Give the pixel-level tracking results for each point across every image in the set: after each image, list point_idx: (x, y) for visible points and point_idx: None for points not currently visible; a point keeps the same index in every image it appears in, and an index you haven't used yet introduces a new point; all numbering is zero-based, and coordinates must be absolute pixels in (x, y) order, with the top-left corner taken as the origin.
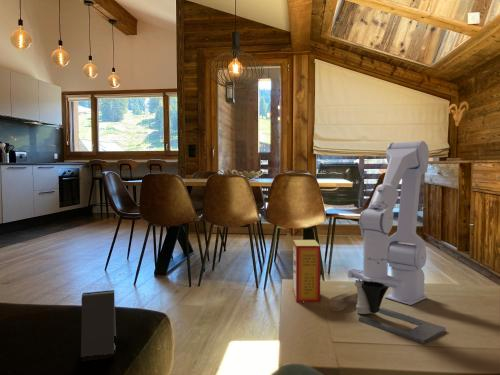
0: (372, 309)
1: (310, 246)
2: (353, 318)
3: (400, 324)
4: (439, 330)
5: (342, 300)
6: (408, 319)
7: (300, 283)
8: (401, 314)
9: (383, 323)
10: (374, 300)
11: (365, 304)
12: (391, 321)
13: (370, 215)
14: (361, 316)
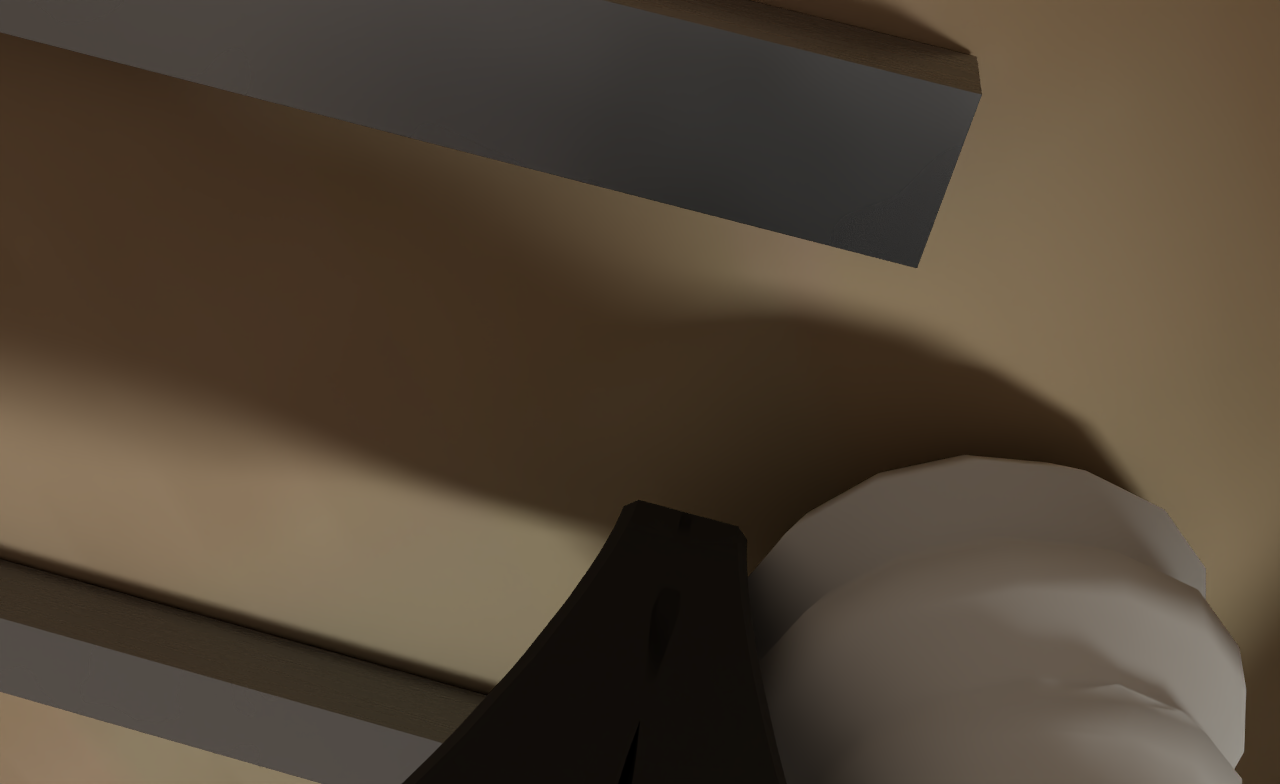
0: (656, 560)
1: None
2: (1182, 126)
3: (92, 396)
4: None
5: None
6: (55, 612)
7: None
8: (235, 736)
9: (191, 69)
10: (471, 772)
11: (912, 706)
12: (297, 450)
13: None
14: (922, 208)
